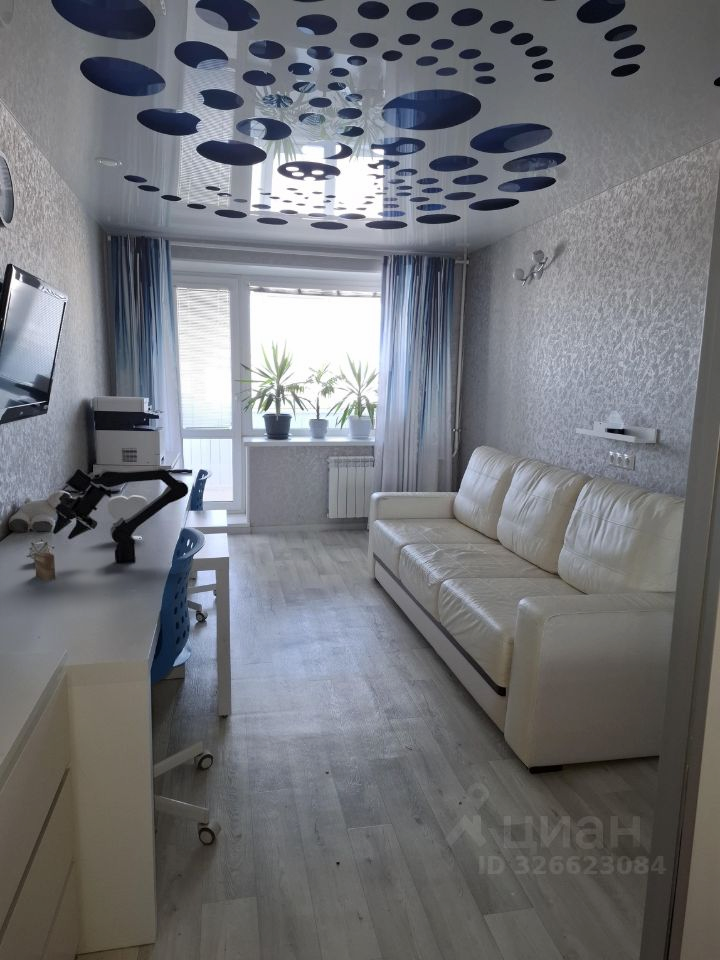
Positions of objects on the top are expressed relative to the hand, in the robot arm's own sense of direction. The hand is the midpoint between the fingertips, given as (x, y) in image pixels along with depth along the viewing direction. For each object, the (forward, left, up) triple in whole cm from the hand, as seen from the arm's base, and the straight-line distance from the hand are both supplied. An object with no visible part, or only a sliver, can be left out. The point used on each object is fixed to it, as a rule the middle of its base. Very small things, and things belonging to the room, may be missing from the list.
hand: (61, 536), depth 224 cm
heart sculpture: (-21, -38, -12) cm, 45 cm away
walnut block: (+4, +10, -12) cm, 16 cm away
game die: (+8, -9, -12) cm, 17 cm away
